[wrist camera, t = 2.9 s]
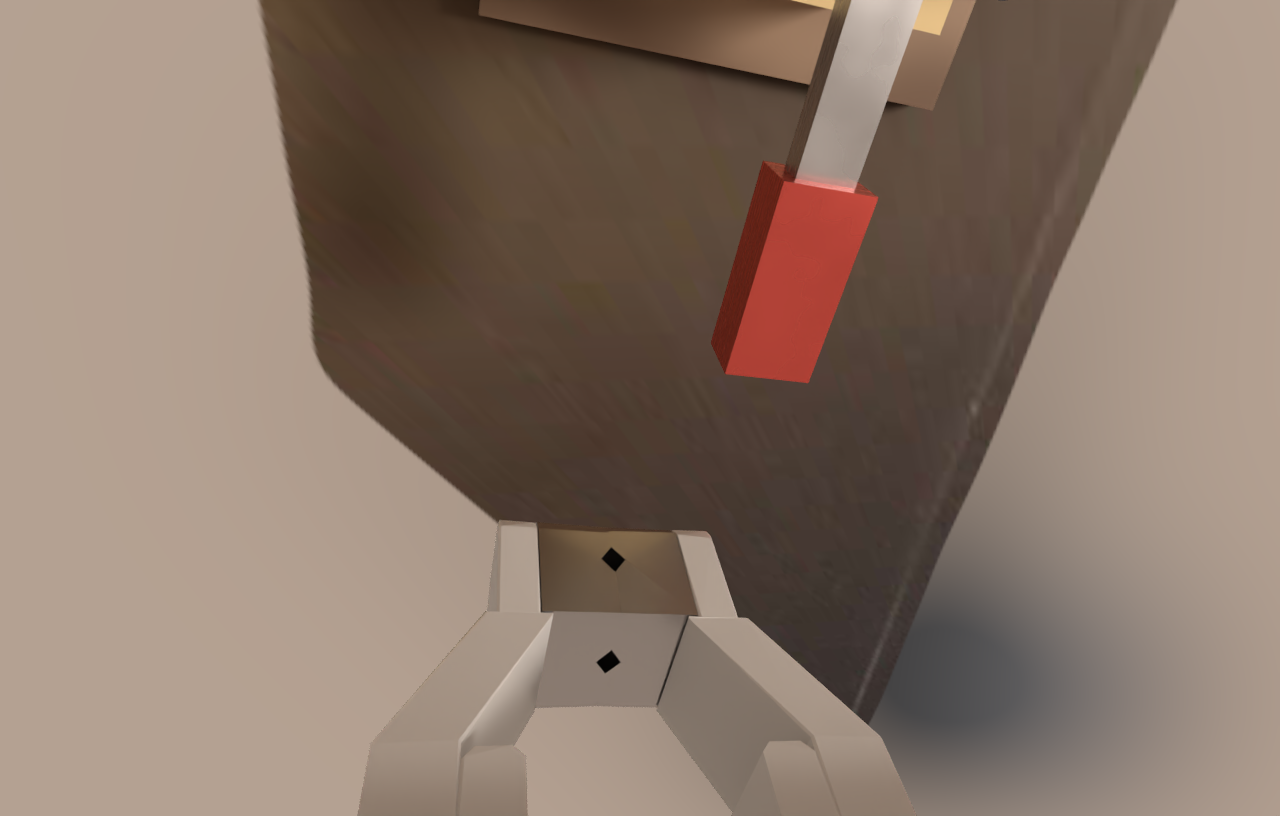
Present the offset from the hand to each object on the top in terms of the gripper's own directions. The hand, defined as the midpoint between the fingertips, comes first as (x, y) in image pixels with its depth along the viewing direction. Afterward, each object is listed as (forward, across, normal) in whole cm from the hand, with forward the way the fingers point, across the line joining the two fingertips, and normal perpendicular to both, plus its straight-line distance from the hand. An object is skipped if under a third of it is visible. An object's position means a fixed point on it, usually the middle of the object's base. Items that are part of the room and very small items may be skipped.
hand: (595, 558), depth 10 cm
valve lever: (+13, -7, -5) cm, 16 cm away
